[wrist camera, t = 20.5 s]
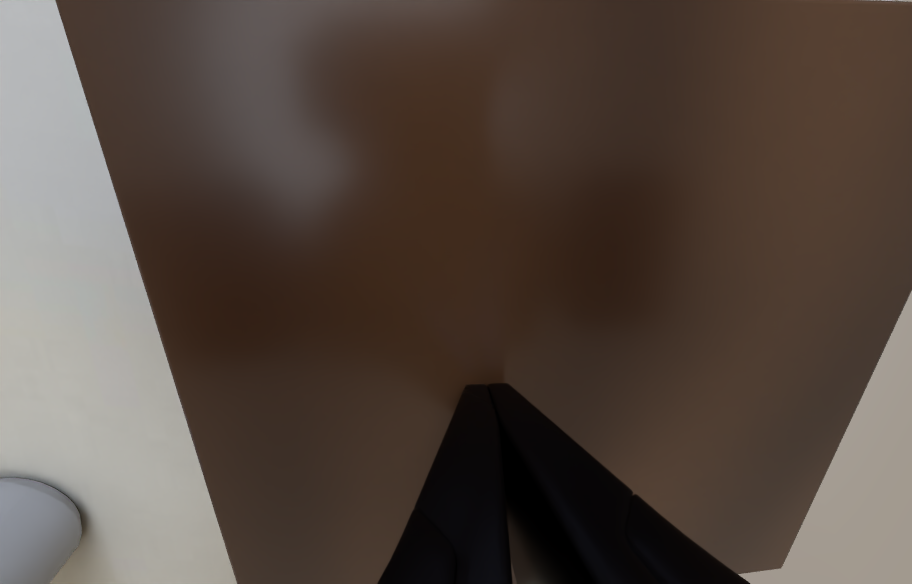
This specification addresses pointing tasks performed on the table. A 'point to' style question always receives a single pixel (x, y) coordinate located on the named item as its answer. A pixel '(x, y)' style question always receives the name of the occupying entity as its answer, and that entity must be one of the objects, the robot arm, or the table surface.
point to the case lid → (508, 245)
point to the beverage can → (35, 531)
